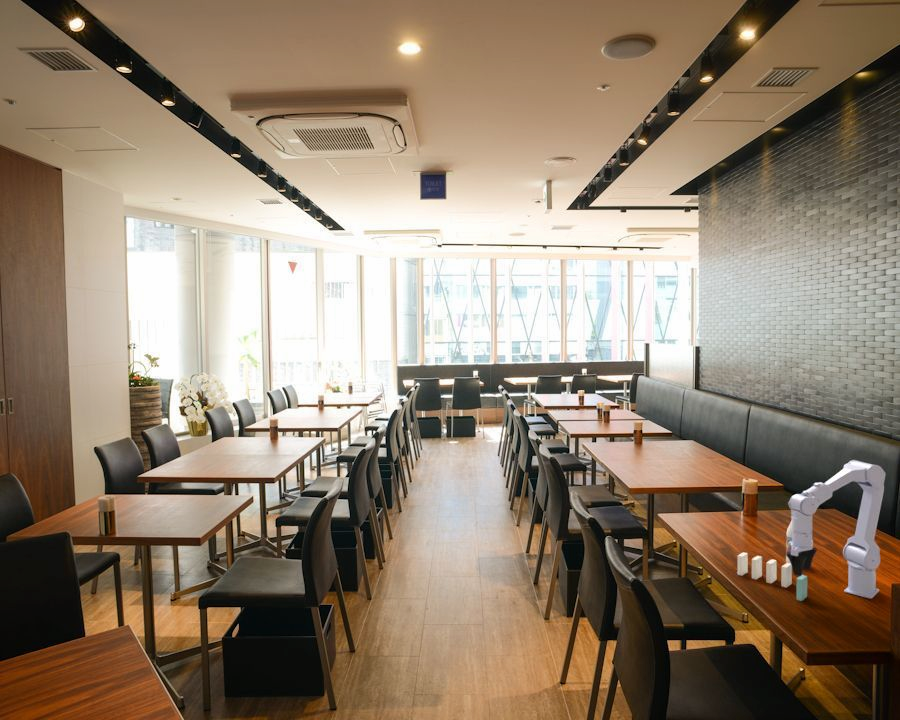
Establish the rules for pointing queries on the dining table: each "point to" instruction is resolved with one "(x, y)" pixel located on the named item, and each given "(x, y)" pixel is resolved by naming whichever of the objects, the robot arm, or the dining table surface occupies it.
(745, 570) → the domino
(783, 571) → the domino
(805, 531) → the robot arm
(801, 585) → the domino teal
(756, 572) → the domino
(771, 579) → the domino
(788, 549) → the milk bottle
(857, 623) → the dining table surface
